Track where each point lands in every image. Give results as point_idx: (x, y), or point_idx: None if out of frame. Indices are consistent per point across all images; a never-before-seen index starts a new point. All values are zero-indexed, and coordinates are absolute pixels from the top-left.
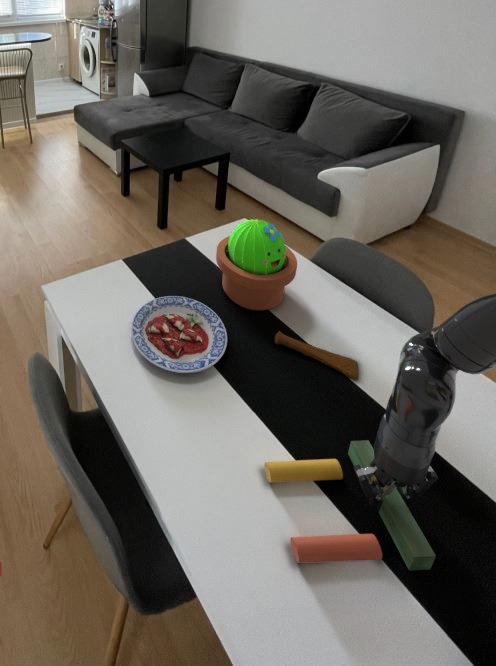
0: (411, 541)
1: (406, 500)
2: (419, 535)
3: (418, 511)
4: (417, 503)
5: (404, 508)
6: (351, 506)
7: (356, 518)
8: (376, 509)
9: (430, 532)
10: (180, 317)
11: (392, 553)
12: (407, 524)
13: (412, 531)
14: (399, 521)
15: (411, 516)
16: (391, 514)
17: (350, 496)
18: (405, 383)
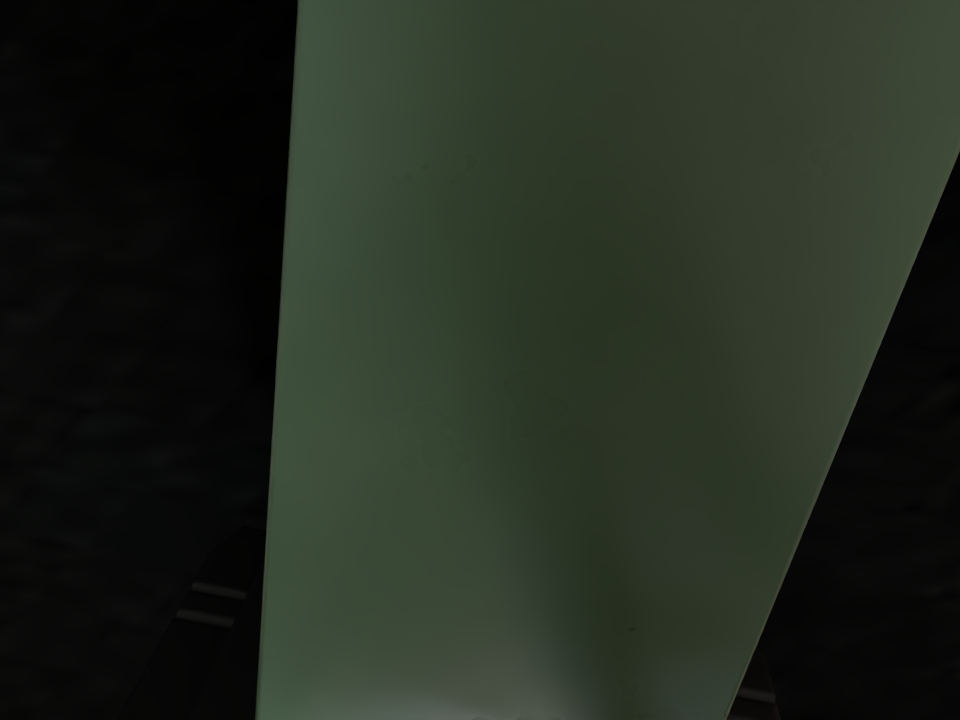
0: (791, 76)
1: (169, 649)
2: (424, 150)
3: (58, 400)
4: (16, 464)
5: (347, 656)
6: (871, 630)
7: (931, 528)
8: None
9: (50, 183)
10: None
11: None
12: (534, 419)
13: (549, 273)
14: (686, 511)
15: (304, 518)
16: (741, 645)
17: (786, 700)
18: None
